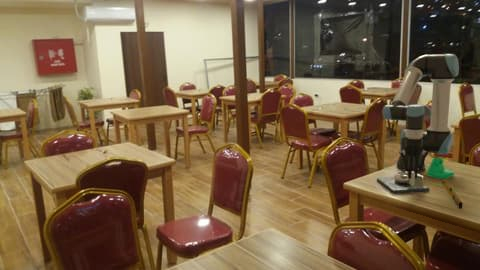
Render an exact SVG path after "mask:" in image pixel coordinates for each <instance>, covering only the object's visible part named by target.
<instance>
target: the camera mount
mask: <svg viewBox="0 0 480 270" xmlns="http://www.w3.org/2000/svg"><path fill="white" fill-rule="evenodd" d="M426 176H429V177H432V178H436V179H443V178H445V179H446V180H448V179H450V178H451V177H453V176H455V172H454V171H453V170H449V169H446V168H445V166H444V159H443V158H441V157H437V156H435V157H433V158H432V161H431V163H430V165H429V167H428V169H427V171H426Z"/></svg>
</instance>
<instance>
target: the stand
mask: <svg viewBox="0 0 480 270" xmlns="http://www.w3.org/2000/svg"><path fill="white" fill-rule="evenodd" d="M397 174H408V172H407V171H402V172H398V173H397ZM376 182H378V184H380V185H381V186H382V187H383V188H385V189H386V190H388V191H389V192H390V193H391V194H392V195H402V194H403V195H405V194H416V193H419V194H420V193H429V192H430V189H431V188H430V187H429V186H427V185H426V184H424V188H422V189H421V188H418V187H416V186H411V185H410V184H408V183H398V182H396V181H395V175H394V176H382V177H381V176H380V177H376Z"/></svg>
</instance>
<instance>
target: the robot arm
mask: <svg viewBox="0 0 480 270" xmlns="http://www.w3.org/2000/svg"><path fill="white" fill-rule="evenodd" d="M459 71H460V65H459V59H458V57H457V55H456V54H454V53H443V54H441V53H439V54H424V55H420V56H418V57H416V58H415V59H413V60H412V61H411V62H410V63H409V64H408V65H407V66H406V68H405V70H404V74H403V75H404V77H403V79H402V80H401V83H400V85H399V87H398V89H397V91H396V93H395V95H394V97H393V100H392V101H391V103H390V104H386V105H384V106H383V108H382V117H383V118H384V120H390V121H400V122H401V121H405V129H402V130H401V132H400V133H401V134H400V149H399V157H398V158H397V161H396V168H397V169H399V170H402V171H404V172H408V178H409V179H410V185H411V186H414V184H415V179H417V174H419V173H420V172H422V171H424V170H425V168H426V164H425V161H426V158H427V156H428V155H429V153H430V154H437V155H447V154H449V152H450V151H451V150H452V146H453V143H454V133H452V132H451V129H450V128H449V111H450V102H451V101H450V99H451V86H452V83H453V81H454V80H455V77H458V76H459ZM423 77H429V78H430V79H429V80H430V81H431V82H432V92H431V93H432V94H431V96H432V97H431V107H429V106H428V105H422V104H409V102H410V101H411V98H412V95H413V93H414V92H415V89H416V87H417V85H418V83H419V81H420V80H421V79H422V78H423ZM429 120H430V122H429V123H430V124H429V126H428V127H427V128H426V131H425V130H424V123H425V122H427V121H429Z"/></svg>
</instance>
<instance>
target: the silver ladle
mask: <svg viewBox="0 0 480 270" xmlns="http://www.w3.org/2000/svg"><path fill="white" fill-rule="evenodd" d="M394 176H395V181H396V182H398V183H408V184H410V179H409V178H408V174H398V173H397V174H394ZM424 185H425V176H424V175H421V174H419V173H417V179H415V184H414V186H416V187H418V188H421V189H422V188H424Z"/></svg>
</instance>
